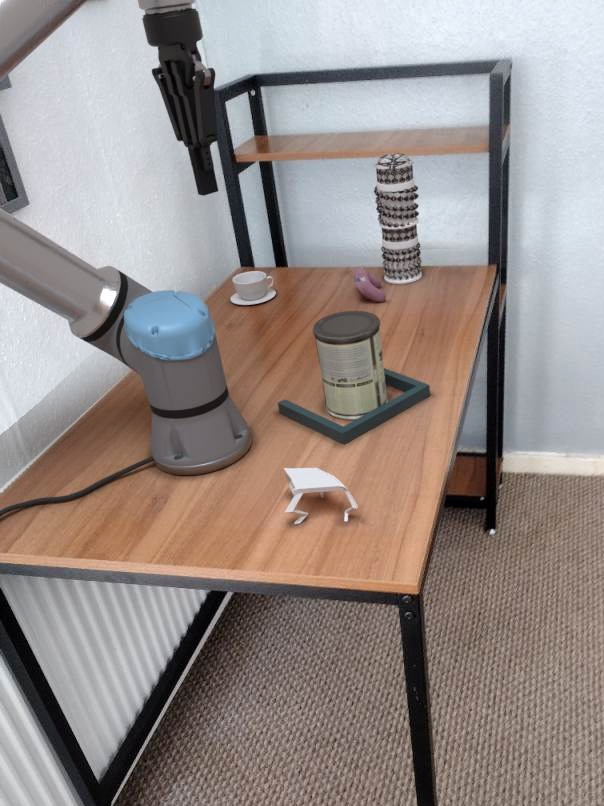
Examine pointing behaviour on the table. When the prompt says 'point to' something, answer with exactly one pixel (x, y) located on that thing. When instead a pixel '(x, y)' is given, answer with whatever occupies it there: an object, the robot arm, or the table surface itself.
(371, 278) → the video game controller
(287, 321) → the table surface
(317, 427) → the teal u-shaped frame
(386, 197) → the decorative candle
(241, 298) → the teacup
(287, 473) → the origami figure
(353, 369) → the coffee can
